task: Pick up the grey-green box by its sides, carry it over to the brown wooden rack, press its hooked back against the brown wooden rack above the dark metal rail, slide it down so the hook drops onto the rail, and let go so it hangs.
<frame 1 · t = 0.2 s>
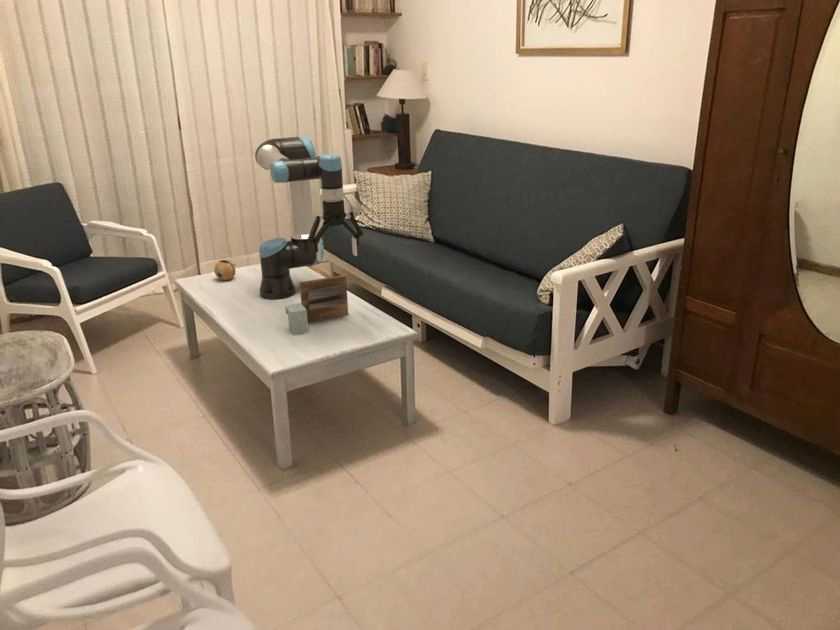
hand: (337, 257, 248), 27 cm above the table, fingers open, 13 cm apart
brown wooden rack: (325, 318, 268), on the table
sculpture: (227, 279, 316), on the table
grey-green box: (298, 331, 256), on the table
teacup with lid: (328, 305, 281), on the table
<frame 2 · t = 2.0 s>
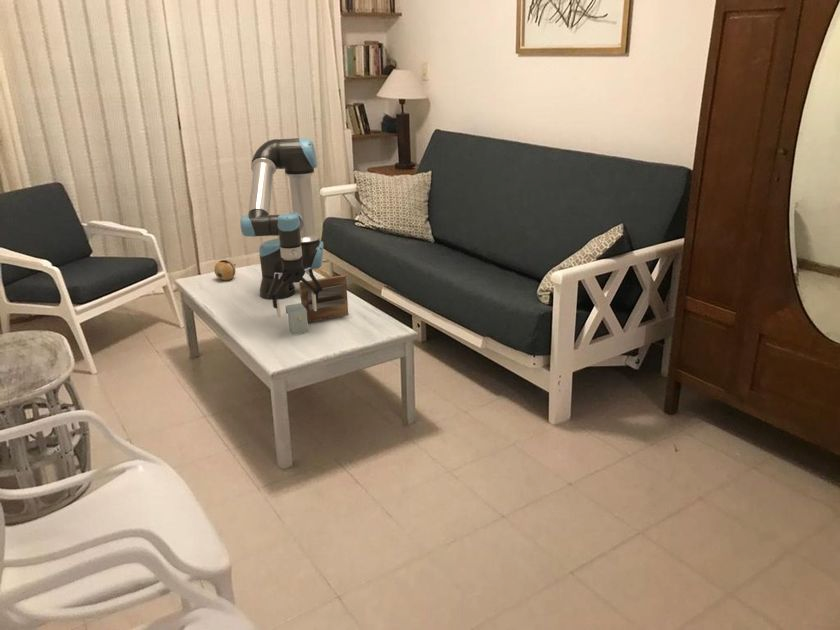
hand: (297, 313, 253), 7 cm above the table, fingers open, 13 cm apart
nothing on the table moved.
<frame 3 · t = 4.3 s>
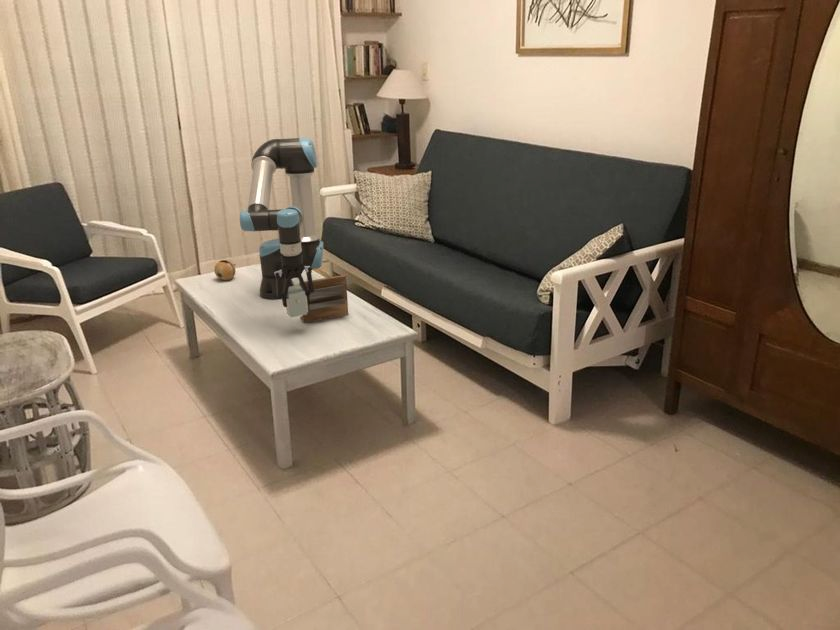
hand: (297, 312, 254), 7 cm above the table, fingers closed on grey-green box, 6 cm apart
grey-green box: (297, 313, 254), point 7 cm above the table, touching gripper
everything else where it was.
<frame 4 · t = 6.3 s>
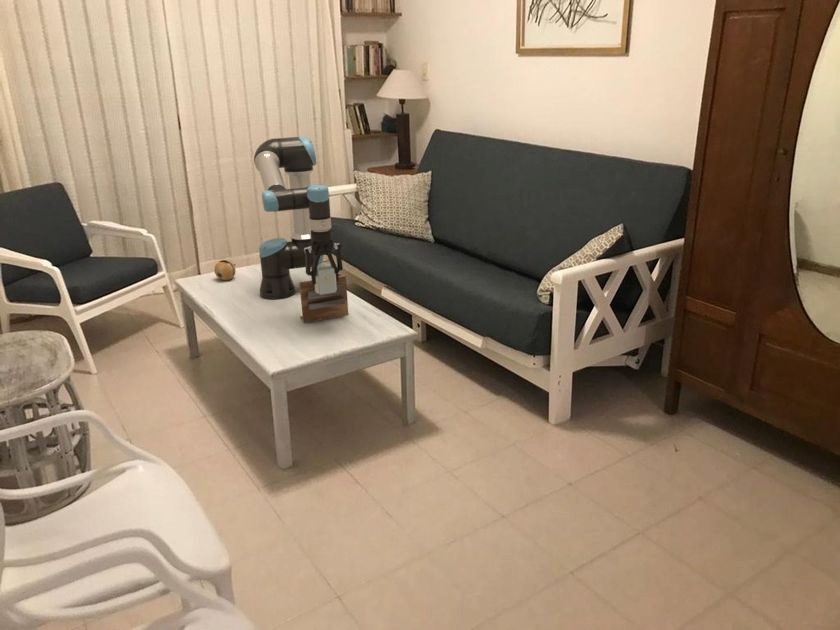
hand: (326, 290, 253), 15 cm above the table, fingers closed on grey-green box, 6 cm apart
grey-green box: (326, 291, 253), point 15 cm above the table, touching gripper
everything else where it was.
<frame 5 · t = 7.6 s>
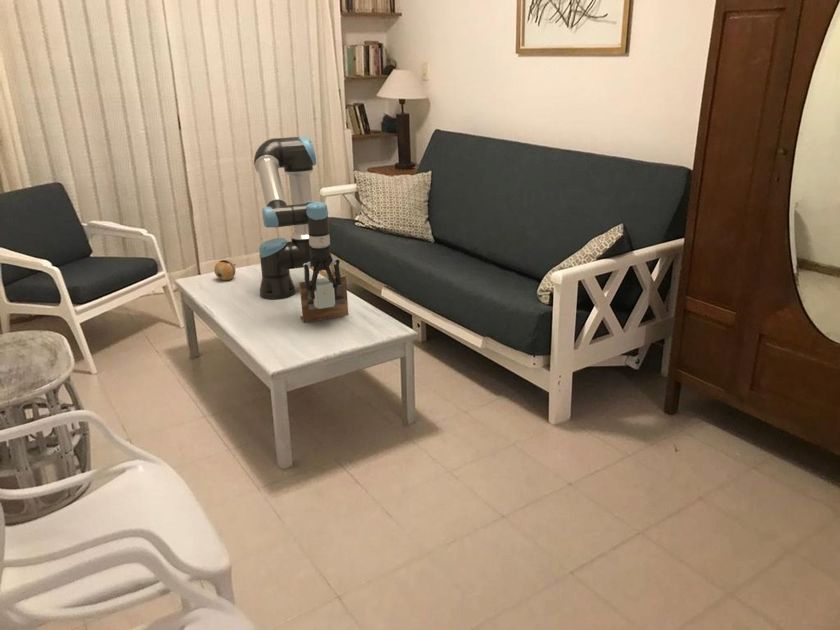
hand: (324, 304, 258), 8 cm above the table, fingers closed on grey-green box, 6 cm apart
grey-green box: (324, 305, 259), point 8 cm above the table, touching gripper
everything else where it was.
when the fingers open (5 cm above the table, at t = 8.8 s): grey-green box stays where it is, resting on brown wooden rack.
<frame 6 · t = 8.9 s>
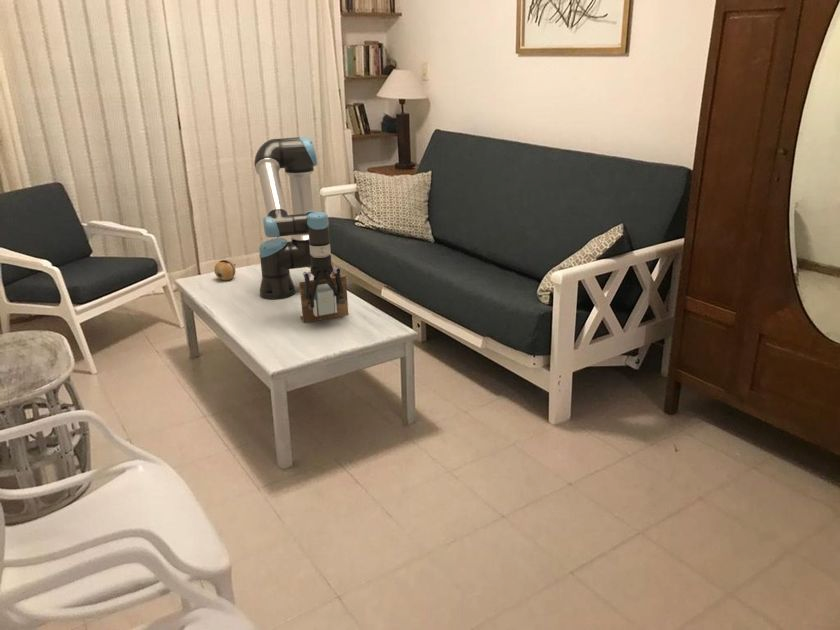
hand: (325, 313, 260), 5 cm above the table, fingers open, 7 cm apart
grey-green box: (324, 311, 260), point 5 cm above the table, touching brown wooden rack
everything else where it was.
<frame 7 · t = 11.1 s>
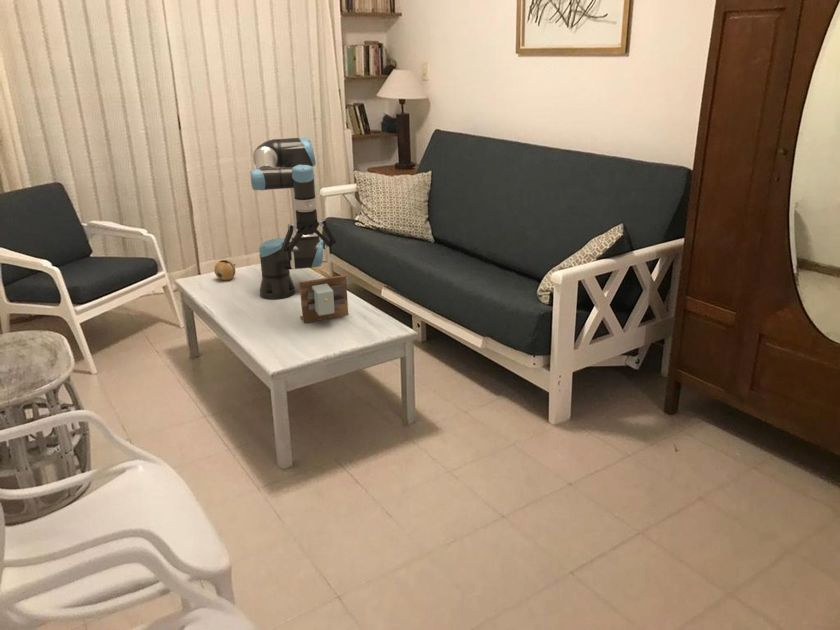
hand: (310, 265, 255), 23 cm above the table, fingers open, 13 cm apart
nothing on the table moved.
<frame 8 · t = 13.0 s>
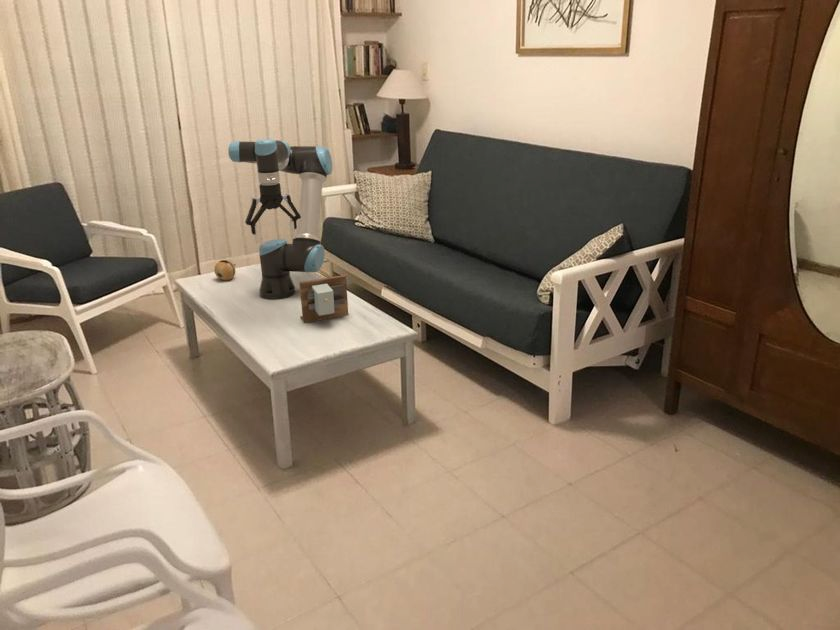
hand: (275, 240, 256), 32 cm above the table, fingers open, 13 cm apart
nothing on the table moved.
at the end: grey-green box inside the target area on the brown wooden rack (2.1 cm from its centre), point 5.2 cm above the brown wooden rack's base; grey-green box tilted 4°; the gripper is holding nothing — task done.
